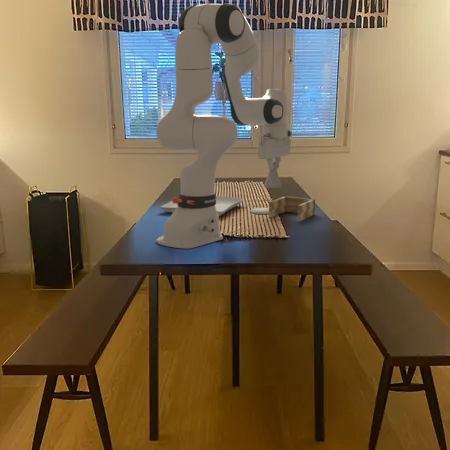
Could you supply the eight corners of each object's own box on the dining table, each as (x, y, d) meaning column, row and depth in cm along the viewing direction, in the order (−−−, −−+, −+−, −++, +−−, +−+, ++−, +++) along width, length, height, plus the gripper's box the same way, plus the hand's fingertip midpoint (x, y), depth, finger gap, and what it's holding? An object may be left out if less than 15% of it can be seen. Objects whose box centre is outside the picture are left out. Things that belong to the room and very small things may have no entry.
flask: (280, 189, 179) (281, 163, 176) (262, 188, 181) (262, 162, 178) (283, 186, 186) (284, 161, 183) (265, 185, 188) (266, 160, 185)
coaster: (267, 215, 182) (267, 214, 182) (245, 212, 187) (245, 211, 187) (279, 210, 190) (279, 209, 190) (257, 208, 195) (257, 206, 195)
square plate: (188, 201, 211) (187, 193, 210) (245, 206, 201) (245, 197, 200) (159, 214, 186) (158, 205, 185) (222, 220, 177) (222, 210, 176)
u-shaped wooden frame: (299, 221, 173) (300, 205, 171) (268, 217, 180) (269, 202, 178) (314, 214, 184) (314, 199, 183) (284, 210, 191) (285, 196, 190)
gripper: (268, 134, 168) (267, 172, 171) (293, 132, 184) (292, 166, 188) (253, 133, 171) (253, 171, 175) (279, 131, 188) (278, 165, 191)
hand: (273, 168), depth 181 cm, fingers closed on flask, 3 cm apart
